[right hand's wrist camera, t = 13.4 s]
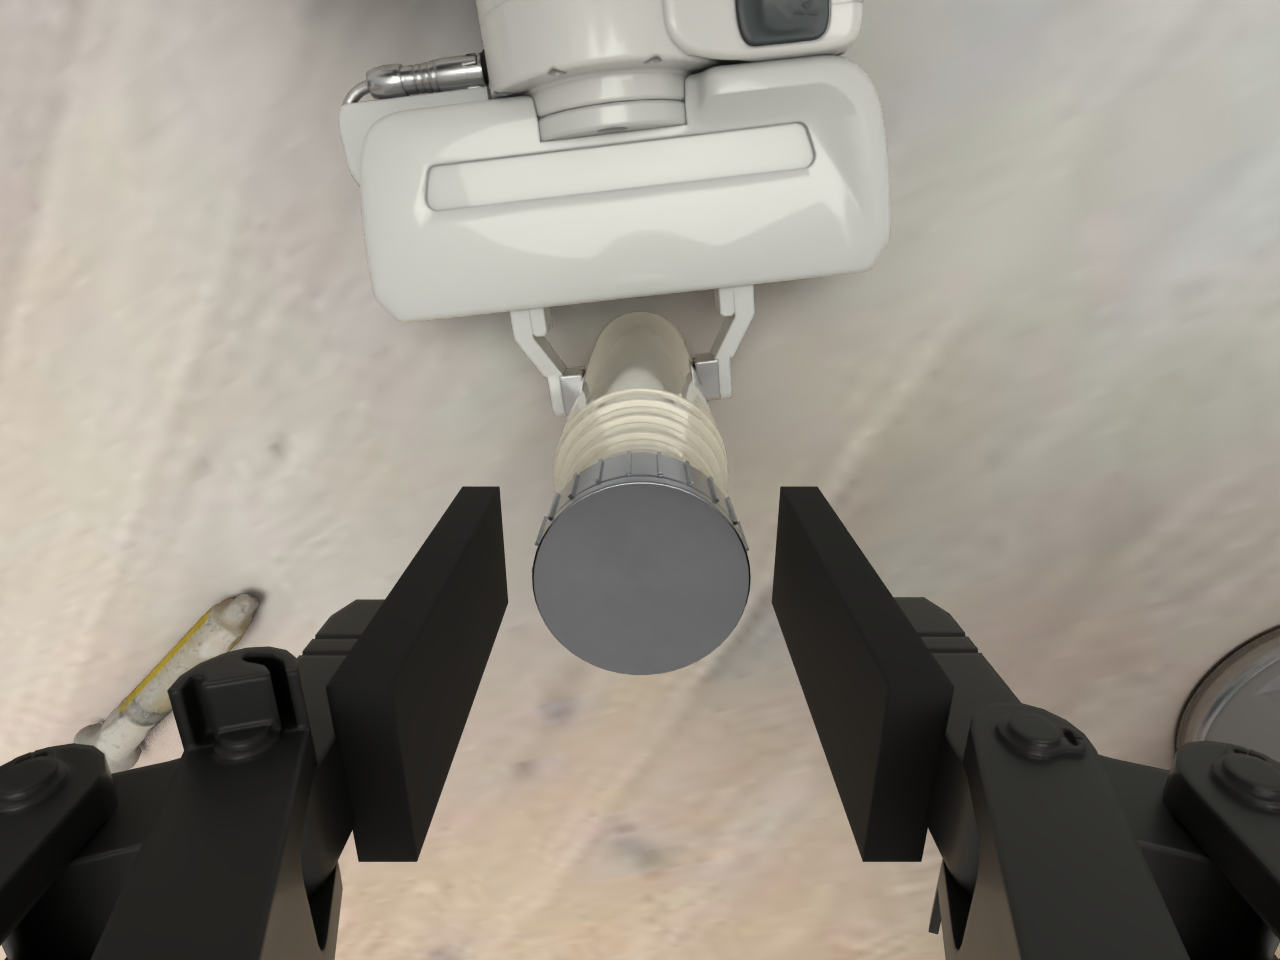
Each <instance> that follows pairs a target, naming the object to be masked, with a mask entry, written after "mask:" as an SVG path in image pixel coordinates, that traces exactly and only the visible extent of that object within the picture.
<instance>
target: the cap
mask: <svg viewBox="0 0 1280 960" xmlns="http://www.w3.org/2000/svg"><path fill="white" fill-rule="evenodd" d="M535 545H537V546H538V548H537V551H536V555H535V559H534V563H533V568H532V582H533V592H534V597H535V601H536V604H537V607H538V610H539V613H540V615H541V617H542V619H543V620H544V622H545V624H546V626H547V627H548V629H549V630H550V631H551V633H552V634H553V635H554V637H555V638H556V639H557V640H558V641H559V642H560V643H561V644H562V645H563V646H564V647H565V648H567V649H568V650H569V651H570V652H571V653H573V654H574V655H576V656H578V657H579V658H581V659H582V660H584V661H586V662H588V663H590V664H592V665H594V666H597V667H600V668H602V669H605V670H609V671H613V672H617V673H623V674H631V675H651V674H660V673H665V672H670V671H674V670H677V669H680V668H683V667H686V666H688V665H690V664H692V663H694V662H697V661H699V660H700V659H702V658H703V657H705V656H707V655H708V654H710V653H711V652H712V651H713V650H715V649H716V648H717V647H718V646H720V645H721V644H722V642H723V641H724V640H725V639H726V638H727V637H728V636H729V635H730V633H731V632H732V631H733V629H734V628H735V627H736V625H737V623H738V621H739V620H740V618H741V616H742V614H743V611H744V609H745V606H746V604H747V600H748V595H749V591H750V578H751V577H750V565H749V560H748V556H747V552H746V551H748V550H749V549H748V545H747V542H746V539H745V536H744V533H743V531H742V528H741V525H740V522H739V521H738V520H737V517H736V515H735V512H734V509H733V506H732V503H731V500H730V498H729V497H727V498H726V497H725V495H724V494H723V493H722V491H721V490H720V489H719V487H718V486H717V485H716V484H715V483H714V479H713V477H712V476H709V477H707V476H706V475H705V474H703V473H702V472H701V471H699V470H698V469H696V468H694V467H693V466H691V465H690V462H689V461H687V460H686V461H685V462H682V461H680V460H678V459H675V458H671V457H668V456H664V455H661V452H657V454H651V453H633V454H631V451H627V454H624V455H619V456H615V457H611V458H608V459H605V460H603V459H602V458H600V459H598V462H597V463H595V464H593V465H592V466H590V467H588V468H586V469H585V470H583V471H582V472H580V473H579V474H578V473H577V472H576V473H575V474H573V478H572V480H571V481H570V482H569V483H568V484H567V485H566V486H565V487H564V488H563V489H562V491H561V492H560V493H556V494H555V496H554V499H553V502H552V505H551V508H550V511H549V514H548V516H547V517H544V519H543V522H542V525H541V528H540V531H539V534H538V537H537V540H536V544H535Z"/></svg>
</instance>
